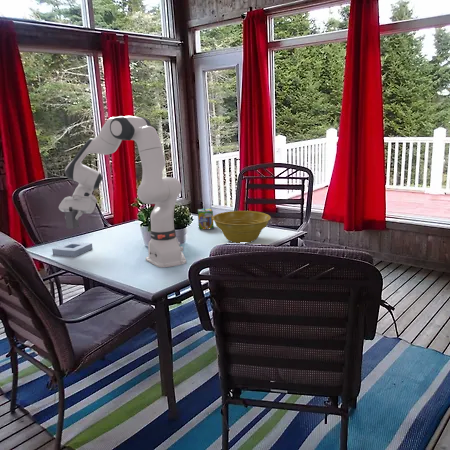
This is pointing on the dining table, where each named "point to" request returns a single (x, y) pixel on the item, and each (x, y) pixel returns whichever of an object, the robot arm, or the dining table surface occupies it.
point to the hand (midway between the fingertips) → (70, 218)
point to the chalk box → (205, 218)
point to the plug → (71, 219)
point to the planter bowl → (241, 224)
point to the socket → (72, 249)
